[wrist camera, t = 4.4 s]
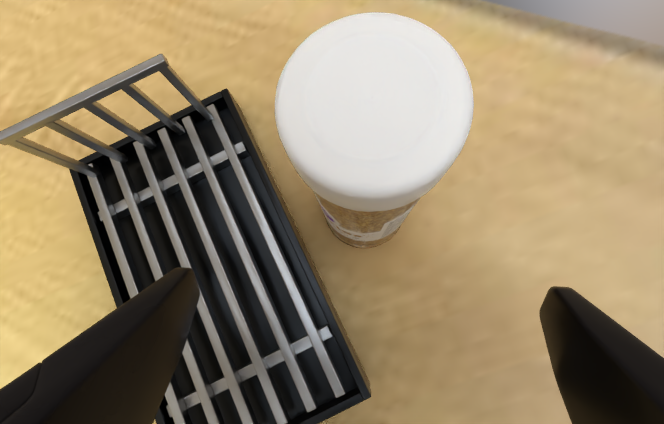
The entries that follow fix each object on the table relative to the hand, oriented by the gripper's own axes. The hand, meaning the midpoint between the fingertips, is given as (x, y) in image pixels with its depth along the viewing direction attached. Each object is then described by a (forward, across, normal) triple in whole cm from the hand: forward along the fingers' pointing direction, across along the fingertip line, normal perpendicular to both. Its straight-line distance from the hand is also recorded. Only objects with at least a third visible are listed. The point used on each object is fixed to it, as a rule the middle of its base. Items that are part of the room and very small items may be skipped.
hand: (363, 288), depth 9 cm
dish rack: (+8, +8, +8) cm, 14 cm away
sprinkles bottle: (+11, 0, +5) cm, 12 cm away
